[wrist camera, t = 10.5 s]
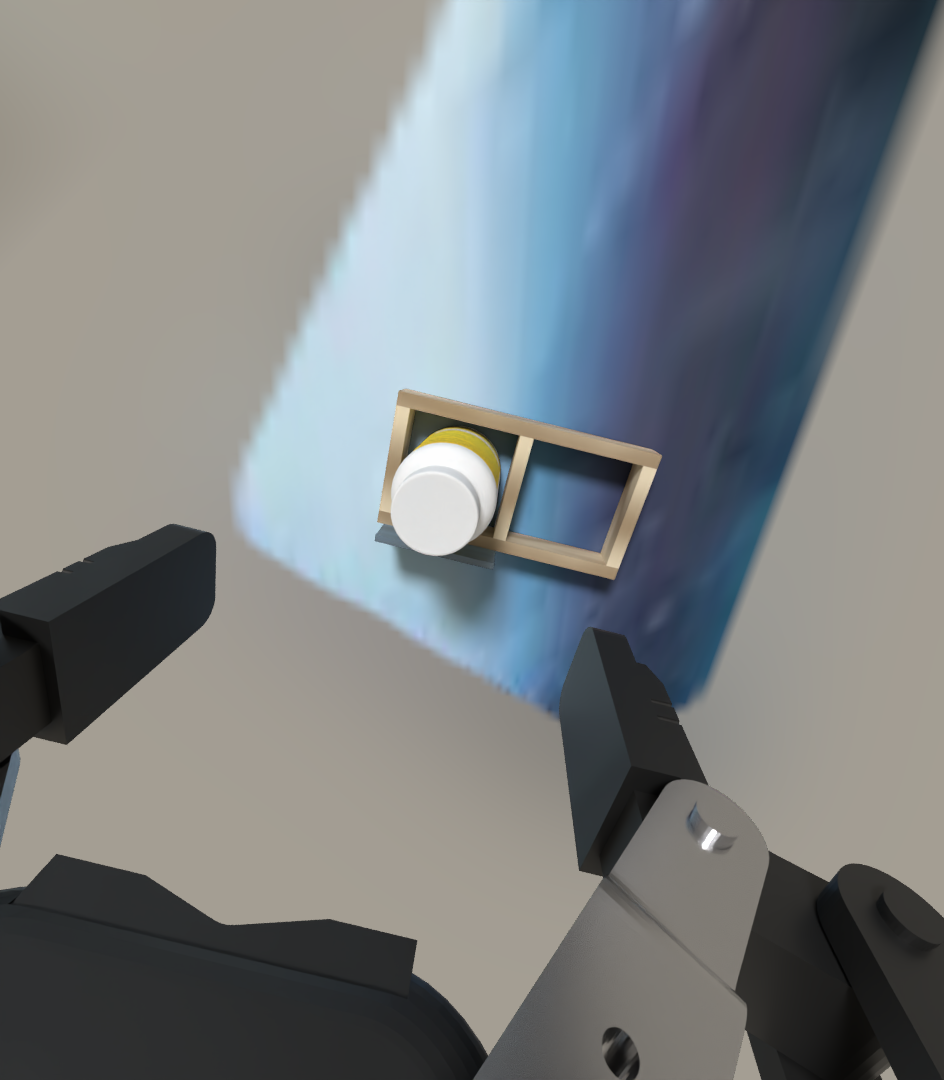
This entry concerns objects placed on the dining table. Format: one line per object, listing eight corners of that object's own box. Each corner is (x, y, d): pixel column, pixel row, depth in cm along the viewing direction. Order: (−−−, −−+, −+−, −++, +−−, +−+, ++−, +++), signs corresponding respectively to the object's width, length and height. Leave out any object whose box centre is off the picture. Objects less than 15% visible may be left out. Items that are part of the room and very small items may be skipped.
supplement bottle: (419, 419, 29) (377, 446, 20) (506, 430, 29) (504, 463, 20) (413, 502, 31) (372, 562, 22) (494, 513, 31) (488, 578, 21)
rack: (406, 388, 28) (390, 393, 24) (652, 449, 28) (673, 462, 25) (384, 517, 31) (367, 539, 28) (605, 571, 31) (618, 600, 28)
